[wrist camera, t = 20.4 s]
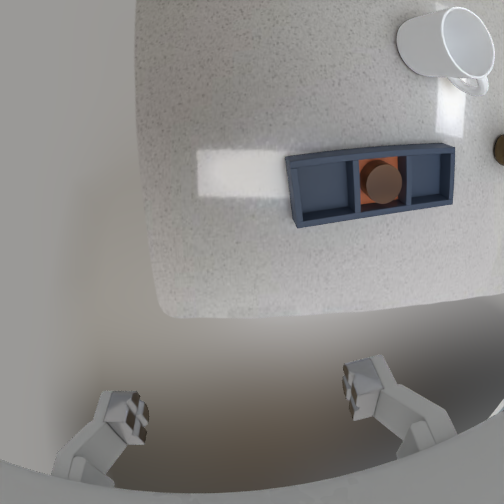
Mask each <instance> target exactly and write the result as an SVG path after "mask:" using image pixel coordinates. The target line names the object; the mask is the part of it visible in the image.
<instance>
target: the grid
mask: <svg viewBox="0 0 504 504" xmlns="http://www.w3.org/2000/svg"><path fill="white" fill-rule="evenodd" d="M285 160H286V168H287V175H288V183H289V191H290V199H291V208H292V216H293V220H294V222H295V224H296V227H297V228H303V227H309V226H315V225H321V224H327V223H334V222H340V221H346V220H352V219H359V218H365V217H371V216H378V215H384V214H391V213H397V212H404V211H410V210H417V209H424V208H431V207H437V206H444V205H451V204H453V190H454V171H455V147H452V146H449V145H447V144H444V143H431V144H408V145H392V146H378V147H366V148H355V149H344V150H335V151H326V152H317V153H309V154H302V155H294V156H287V157H285ZM373 160H381V161H384V162H386V163H388V164H390V165H392V166H394V167H395V168H396V169H397V170H398V171H399V172H400V174H401V177H402V187H401V190H400V193H399V194H398V196H397V197H396V198H395V199H394V200H393V201H391V202H389V203H386V204H379V203H376V202H374V201H373V200H372V199H370V198H369V197H368V196H367V195H366V194H364V193H363V191H362V190H361V188H360V172H361V170H362V168H363V167H364V166H365V165H366V164H367V163H369V162H370V161H373Z"/></svg>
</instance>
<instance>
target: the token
mask: <svg viewBox="0 0 504 504" xmlns="http://www.w3.org/2000/svg"><path fill="white" fill-rule="evenodd" d="M401 187H402V177H401V174H400V172H399V171H398V170H397V169H396V168H395V167H394V166H392V165H390V164H388V163H386V162H384V161H381V160H373V161H370V162H369V163H367V164H366V165H365V166H364V167H363V168H362V170H361V172H360V188H361V190H362V191H363V193H364V194H366V195H367V196H368V197H369V198H370V199H372V200H373V201H374V202H376V203H379V204H386V203H389V202H391V201H393V200H394V199H395V198H396V197H397V196H398V194H399V193H400V190H401Z"/></svg>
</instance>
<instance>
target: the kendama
mask: <svg viewBox="0 0 504 504" xmlns="http://www.w3.org/2000/svg"><path fill="white" fill-rule="evenodd" d="M495 157H496V160H497V161H498V162H499V164H501V165H504V135H501V136H500V137H499V138H498V140H497V142H496V144H495Z"/></svg>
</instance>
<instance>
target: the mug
mask: <svg viewBox="0 0 504 504" xmlns="http://www.w3.org/2000/svg"><path fill="white" fill-rule="evenodd" d="M397 47H398V51H399V53H400V56H401V58H402V59H403V61H404V62H405V63H406V65H407V66H408V67H409V68H410V69H412V70H413V71H414V72H416V73H418V74H420V75H423V76H428V77H447V78H448V79H449V80H450V81H451V82H452V83H453V84H454V85H455V86H456V87H457V88H458V89H460V90H461V91H463V92H465V93H467V94H469V95H472V96H483V95H485V94H486V93H487V91H488V88H489V84H488V79H487V75H488V74H489V73H490V72H491V70H492V68H493V65H494V60H495V50H494V45H493V41H492V38H491V35H490V33H489V31H488V29H487V27H486V26H485V24H484V23H483V22H482V21H481V19H480V18H479V17H478V16H477V15H476V14H474V13H473V12H471V11H470V10H468V9H466V8H463V7H452V8H447V9H443V10H440V11H436V12H432V13H429V14H425V15H422V16H418V17H415V18H412V19H409V20H407V21H406V22H404V23H403V24H402V25H401V26H400V28H399V30H398V33H397ZM460 78H472V79H476V80H477V82H478V86H471V85H469V84H467V83H465V82H464V81H462V80H461V79H460Z"/></svg>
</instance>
